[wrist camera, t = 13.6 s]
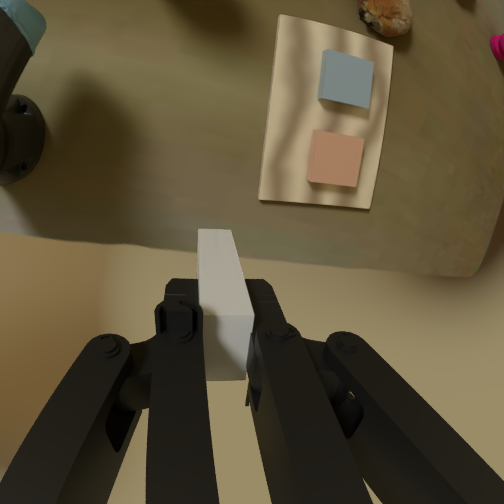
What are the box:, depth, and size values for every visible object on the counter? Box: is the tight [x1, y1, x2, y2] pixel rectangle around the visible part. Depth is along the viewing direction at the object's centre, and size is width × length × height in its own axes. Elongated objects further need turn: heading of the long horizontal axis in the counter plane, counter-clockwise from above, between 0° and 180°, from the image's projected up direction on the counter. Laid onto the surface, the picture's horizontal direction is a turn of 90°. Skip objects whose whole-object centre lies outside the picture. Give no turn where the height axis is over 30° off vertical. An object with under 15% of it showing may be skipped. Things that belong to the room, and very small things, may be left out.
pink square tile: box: [306, 129, 364, 187], centre depth 46 cm, size 2×8×8 cm
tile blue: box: [317, 49, 374, 109], centre depth 41 cm, size 2×8×8 cm
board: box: [258, 14, 393, 209], centre depth 45 cm, size 20×30×1 cm, turn 174°
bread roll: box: [358, 0, 413, 37], centre depth 36 cm, size 10×10×8 cm
